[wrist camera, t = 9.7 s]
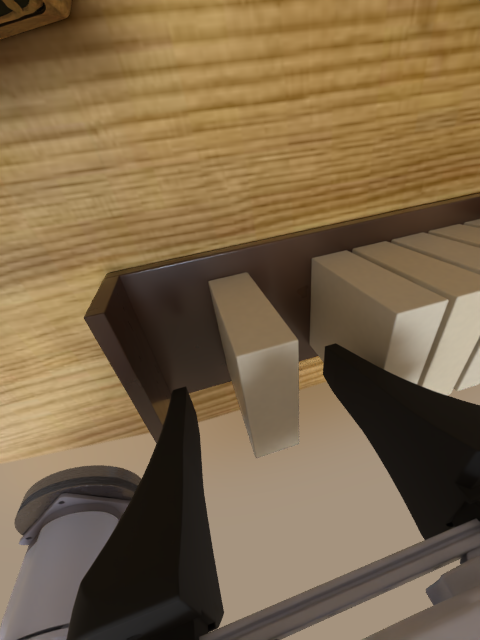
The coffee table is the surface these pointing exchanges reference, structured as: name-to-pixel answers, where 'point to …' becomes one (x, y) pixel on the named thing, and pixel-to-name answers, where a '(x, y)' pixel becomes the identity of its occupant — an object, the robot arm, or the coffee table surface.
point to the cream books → (405, 306)
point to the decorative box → (30, 14)
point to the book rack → (198, 311)
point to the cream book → (259, 362)
